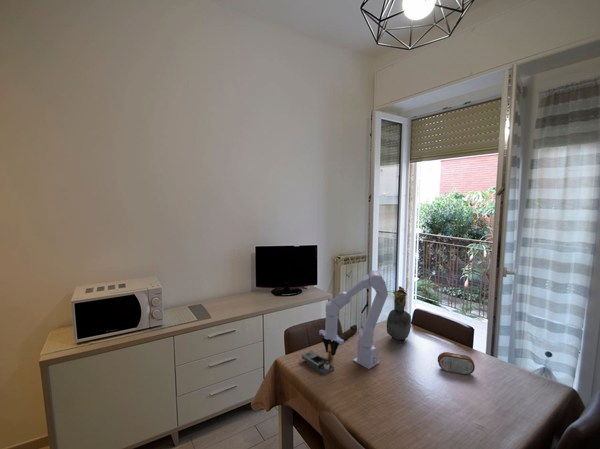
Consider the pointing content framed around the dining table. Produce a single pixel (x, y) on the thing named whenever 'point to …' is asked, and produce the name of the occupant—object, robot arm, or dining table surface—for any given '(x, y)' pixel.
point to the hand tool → (349, 332)
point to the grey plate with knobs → (321, 366)
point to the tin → (456, 363)
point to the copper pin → (330, 353)
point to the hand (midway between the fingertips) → (330, 353)
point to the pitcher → (399, 318)
